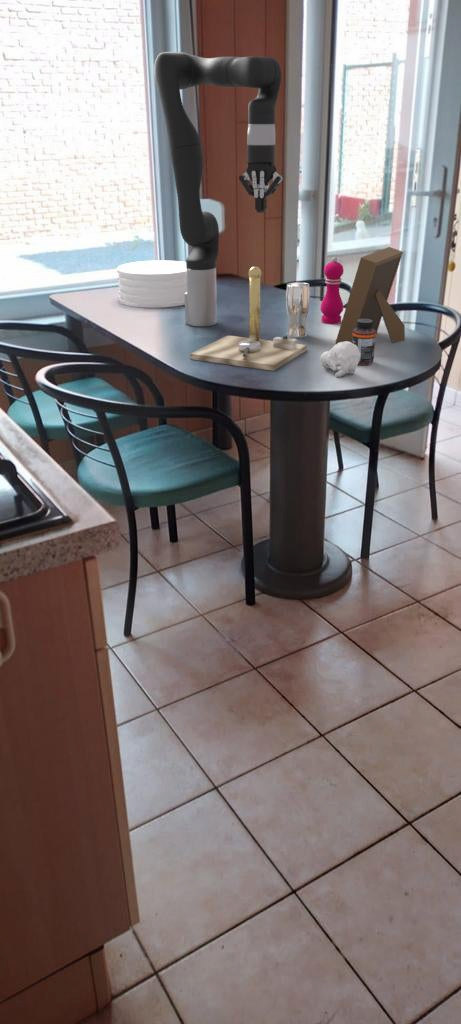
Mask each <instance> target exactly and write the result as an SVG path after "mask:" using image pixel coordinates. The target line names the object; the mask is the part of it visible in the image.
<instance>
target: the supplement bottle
mask: <svg viewBox="0 0 461 1024" xmlns="http://www.w3.org/2000/svg"><path fill="white" fill-rule="evenodd" d="M372 325H373V321H372V320H371V319H359V320H357V326H356V328H354V330H353V336H352V343H353V344H355V345H356V346H357V347H358V349H359V352H360V354H361V356H360V359H359V363H358V365H357V366H370V365H371V364H373V363H374V359H375V349H376V348H375V345H376V334H377V333H376V331H375V329H374V328H372Z"/></svg>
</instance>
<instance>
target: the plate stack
mask: <svg viewBox="0 0 461 1024" xmlns="http://www.w3.org/2000/svg"><path fill="white" fill-rule="evenodd" d="M116 270H117V271H116V273H117V280H118V283H117V287H118V288H119V289H118V295H119V298H118V299H119V302H120V303H121V304H123V305H125V306H131V307H138V308H153V309H154V308H171V307H179V306H183V305H184V306H185V297H184V294H185V293H186V292H187V277H186V261H180V260H179V261H178V260H143V261H134V262H128V263H124V264H120V265H119V266H117V268H116Z"/></svg>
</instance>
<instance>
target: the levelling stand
mask: <svg viewBox="0 0 461 1024" xmlns="http://www.w3.org/2000/svg"><path fill="white" fill-rule="evenodd" d="M297 339H298V338H291V337H288V336H287V335H283V336H282V337H280V336H275V337H274V338H273V339H272V340H267V339H263V338H262V339H261V338H260V340H258V342H260V351H258V352H252V353H248V354H247V356H246V357H243V353H244V352H241V351H239V349H238V343H239V342H241V341H246V340H249V337H246V336H245V337H244V336H237V335H236V336H235V335H225V336H223V337H221V338H220V339H217V340H216V341H213V342H211V343H209V344H207V345H205V346H203V347H201V348H199V349H197V350H195V351H193V352H191V353H189V356H190V357H189V359H190V360H193V361H194V360H195V361H203V362H208V363H216V364H221V365H222V364H224V365H230V366H231V365H232V366H237V367H244V368H251V369H259V370H266V371H273V372H275V371H277V370H278V369H279V368H281V367H282V366H284V365H286V364H287V363H289V362H290V361H292V360H293V359H295V358H296V357H298V356H300V355H302V354H303V353H305V352H306V351H308V350H307V346H308V345H307V344H302V343H300V344H299V343H298V342H297V341H298V340H297Z"/></svg>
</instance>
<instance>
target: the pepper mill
mask: <svg viewBox="0 0 461 1024" xmlns="http://www.w3.org/2000/svg"><path fill="white" fill-rule="evenodd" d="M323 274H324V275H325V277H326V278H325V279H324V280H325V284H326V292H325V294H324V297H323V299H322V301H321V304H320V312H321V313H322V314H323V315H321V320H320V321H321V323H323V324H326V323H327V324H328V325H337V324H341V323H342V316H341V314H342V313H343V312H344V302H343V300H342V297H341V295H340V294H341V293H340V284H341V283H342V278H341V277H342V276H343V274H344V266H343V264H342V263H341V262H338V258H337V257H336V256H333V257H332V258H331V261H330V262H328V263H327V264H326V265H325V266H324V269H323Z"/></svg>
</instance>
